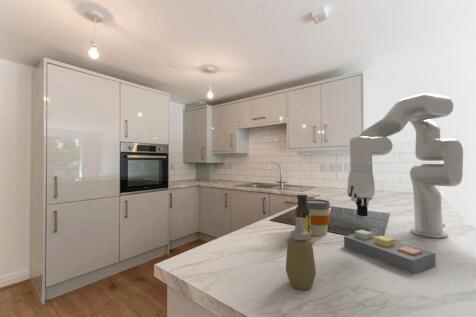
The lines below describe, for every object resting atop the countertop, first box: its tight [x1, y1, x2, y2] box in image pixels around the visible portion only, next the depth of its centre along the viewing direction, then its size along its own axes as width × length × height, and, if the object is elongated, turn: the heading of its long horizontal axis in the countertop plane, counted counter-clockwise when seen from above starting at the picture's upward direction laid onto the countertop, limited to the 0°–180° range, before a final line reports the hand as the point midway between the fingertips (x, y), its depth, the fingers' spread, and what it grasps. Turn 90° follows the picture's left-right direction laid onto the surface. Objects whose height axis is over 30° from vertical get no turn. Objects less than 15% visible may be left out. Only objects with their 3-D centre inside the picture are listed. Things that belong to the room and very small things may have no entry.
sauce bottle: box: [294, 193, 312, 241], centre depth 94 cm, size 7×6×20 cm
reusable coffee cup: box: [307, 198, 331, 237], centre depth 104 cm, size 13×13×15 cm
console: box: [343, 233, 437, 275], centre depth 78 cm, size 12×24×4 cm, turn 24°
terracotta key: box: [398, 246, 422, 256], centre depth 71 cm, size 4×4×2 cm
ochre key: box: [374, 235, 396, 247], centre depth 78 cm, size 4×4×2 cm
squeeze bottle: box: [285, 218, 317, 291], centre depth 61 cm, size 8×8×18 cm
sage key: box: [354, 229, 374, 240], centre depth 85 cm, size 4×4×2 cm
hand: (362, 215), depth 85 cm, fingers closed
